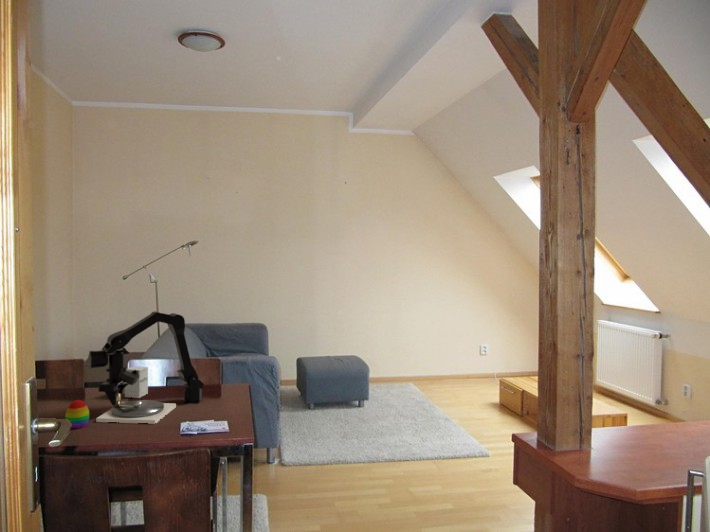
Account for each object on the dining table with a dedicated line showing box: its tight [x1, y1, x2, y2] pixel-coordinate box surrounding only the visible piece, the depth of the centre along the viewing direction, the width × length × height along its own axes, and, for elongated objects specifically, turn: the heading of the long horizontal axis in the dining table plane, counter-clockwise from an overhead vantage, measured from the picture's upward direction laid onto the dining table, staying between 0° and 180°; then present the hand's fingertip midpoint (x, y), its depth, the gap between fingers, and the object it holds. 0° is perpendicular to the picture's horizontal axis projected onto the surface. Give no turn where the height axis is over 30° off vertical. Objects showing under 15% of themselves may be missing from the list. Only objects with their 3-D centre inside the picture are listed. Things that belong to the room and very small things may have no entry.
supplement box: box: [124, 365, 149, 399], centre depth 263 cm, size 7×7×13 cm
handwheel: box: [110, 393, 164, 417], centre depth 235 cm, size 20×20×6 cm
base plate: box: [95, 401, 177, 425], centre depth 236 cm, size 23×23×2 cm
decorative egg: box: [64, 399, 90, 429], centre depth 219 cm, size 8×8×10 cm
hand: (116, 403), depth 236 cm, fingers open, 4 cm apart
